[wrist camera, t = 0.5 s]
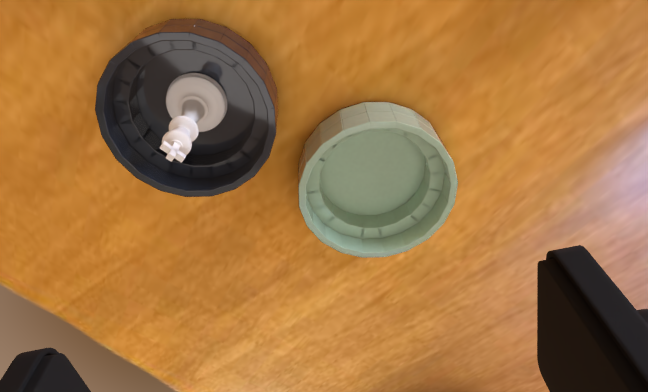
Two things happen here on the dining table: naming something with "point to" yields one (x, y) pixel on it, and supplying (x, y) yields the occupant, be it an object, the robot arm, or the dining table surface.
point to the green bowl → (375, 180)
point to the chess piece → (191, 112)
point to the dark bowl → (153, 118)
